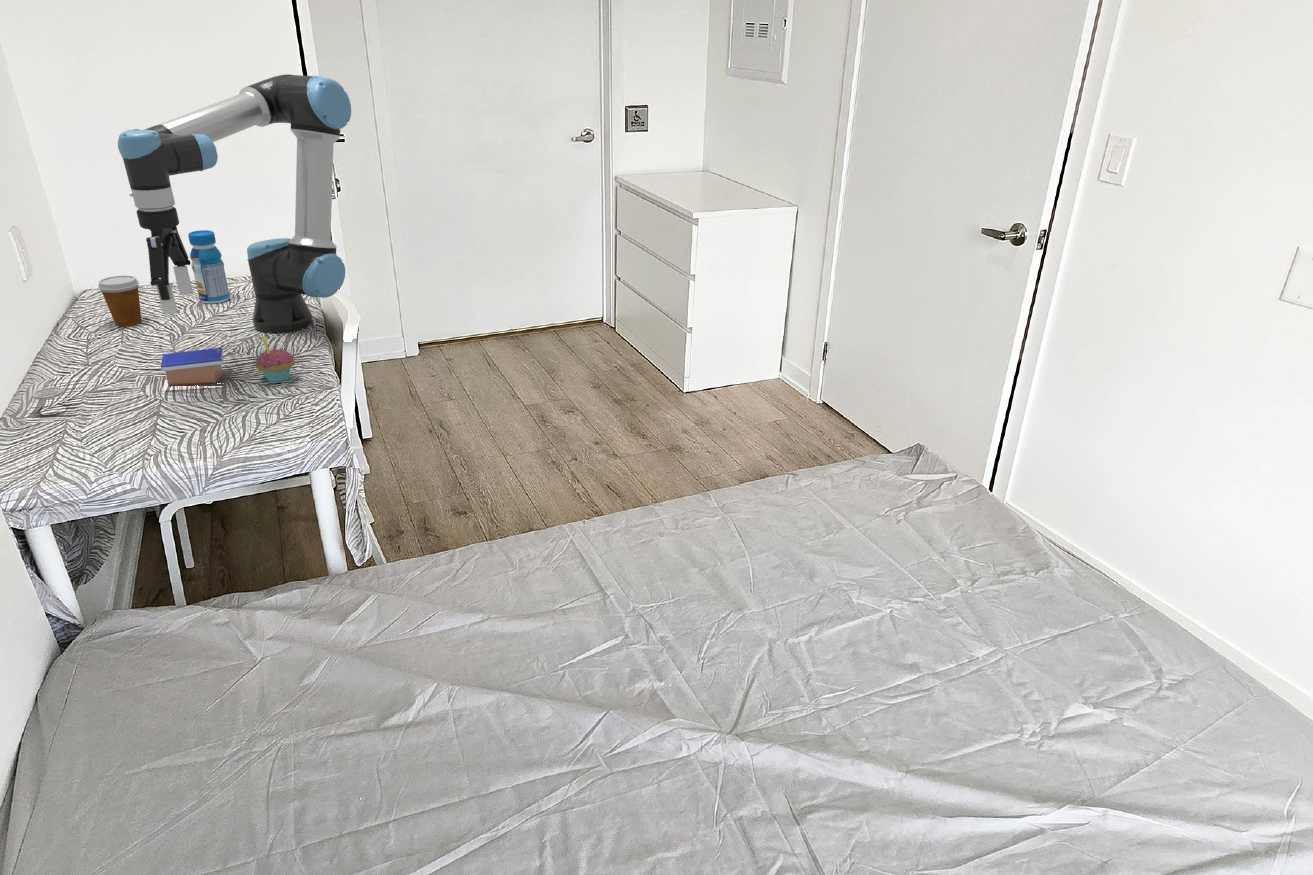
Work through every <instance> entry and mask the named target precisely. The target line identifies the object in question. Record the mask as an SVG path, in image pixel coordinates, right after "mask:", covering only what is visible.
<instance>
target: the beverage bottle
mask: <svg viewBox="0 0 1313 875" xmlns="http://www.w3.org/2000/svg"><path fill="white" fill-rule="evenodd" d="M187 235H188V241H189V244H190V246H192V248H191V249H190V250H191V251H190V252H189V258H190V259H189V260H190V261H192V262H191V270H192V271H193V272H192V273H193V276H194V280H195V285H196V288H197V294H198V299H199V301H200V302H201V303H203V304H207V305H208V304H212V305H213V304H221V303H224V302H226V301H229V300H230V298H231V296H230V292H229V286H228V281H227V276H226V272H225V263H224V260H222V253H221V251H220V249H218V248H219V247H217V246H216V245H215V244H216V241H217V240H216V236H215V233H214V231H213V230H207V229H202V230H199V229H198V230H193V231H190V232H189V233H188V234H187Z"/></svg>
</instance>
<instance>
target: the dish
mask: <svg viewBox="0 0 1313 875" xmlns="http://www.w3.org/2000/svg"><path fill="white" fill-rule="evenodd" d="M222 370H223V367H222V364H220V365H212V366H203V367H194V368H186V369H177V370H168V371H164V372H165V375H166V378H167V380H168V384H169V386H195V385H214V384H217V383H218V381H219V379H220V378H221V376H222V374H223V372H222Z"/></svg>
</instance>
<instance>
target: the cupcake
mask: <svg viewBox="0 0 1313 875" xmlns="http://www.w3.org/2000/svg"><path fill="white" fill-rule="evenodd" d="M260 334H261V340H262V343H263V345H264V347H265V351H263V352H261V353H259V355H258V356H257V357H256V358H255V361H254V362H255V367H256V369H257V370H259V371H261V372H262V374H263V375H264V377H265V378H266V380H267V381H268V382H272V383H279V382H283V381H286V380H287V379H288V378H289V379H290V374H291V370H292V368H293V366H295V365H296V359H295V357H294V355H293V354H292V353H291V352H290V351H287V350H285V349H281V348H280V349H278V348H274V349H270V348H269V345H268V342H267V339H266V336H265V335H263V333H260ZM289 379H288V380H289ZM288 380H287V381H288Z"/></svg>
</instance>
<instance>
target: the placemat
mask: <svg viewBox="0 0 1313 875" xmlns="http://www.w3.org/2000/svg"><path fill="white" fill-rule="evenodd" d="M234 371H235V370H234V369H224V370H223V369H222V372H223V374H222V376H221V378H220V379H219V381H218V383H221V384H214V385H198V386H224V387H222V388H221V389H224V388H225V386H226V384H227V383H228V381H229V380H230V378H231V376H232V374H233V373H234ZM222 383H224V384H222ZM225 383H226V384H225ZM196 386H197V385H196ZM208 389H209V390H211V389H213V388H208ZM208 389H207V388H204V389H203V390H208ZM216 389H219V388H218V387H217V388H216ZM196 390H198V389H197V388H196Z"/></svg>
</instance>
